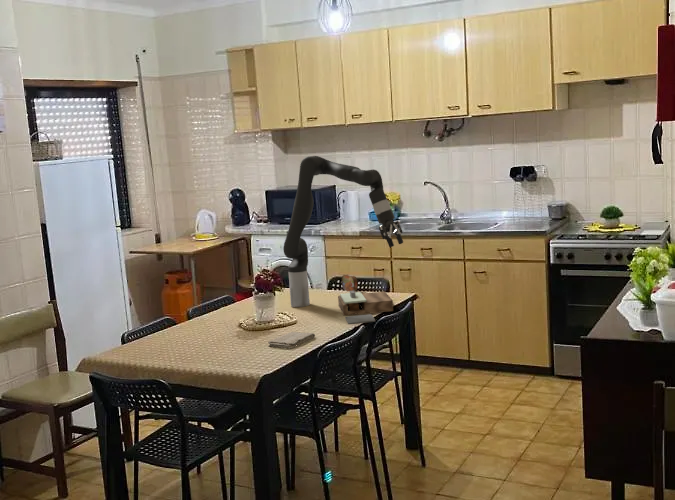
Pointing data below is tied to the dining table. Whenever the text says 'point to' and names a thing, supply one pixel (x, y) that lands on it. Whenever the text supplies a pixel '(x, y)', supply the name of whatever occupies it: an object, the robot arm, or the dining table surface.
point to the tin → (349, 283)
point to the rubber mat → (359, 319)
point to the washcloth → (291, 340)
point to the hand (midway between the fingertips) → (396, 245)
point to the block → (353, 306)
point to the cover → (353, 297)
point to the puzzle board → (369, 304)
